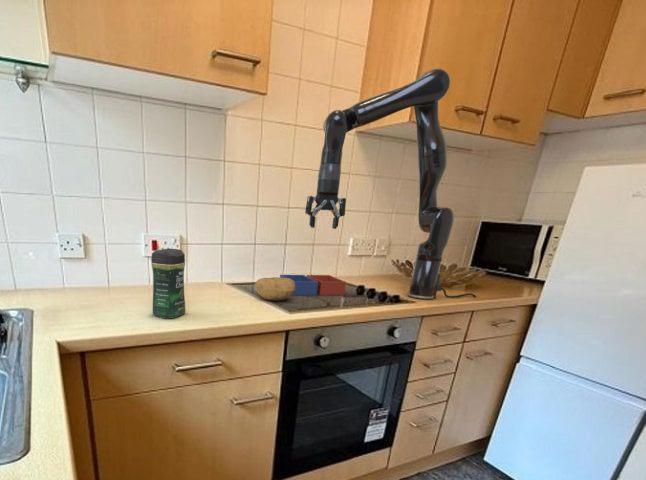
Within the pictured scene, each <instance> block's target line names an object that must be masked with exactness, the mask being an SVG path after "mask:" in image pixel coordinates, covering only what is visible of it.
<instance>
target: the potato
mask: <svg viewBox="0 0 646 480" xmlns="http://www.w3.org/2000/svg"><path fill="white" fill-rule="evenodd" d="M295 286H296V285H295V282H294V281H293V280H292V279H289V278H280V276H273V277H262V278H259V279H257V281H255V283H254V288H255V291H256V292H257V294H258V295H259V296H261V298H262V299H264V300H267V301H272V302H280V301H286V300H287V299H288V300H289V299H290V298H291V297H292V296H293V295H292V294H293V292H294V291H295Z"/></svg>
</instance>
